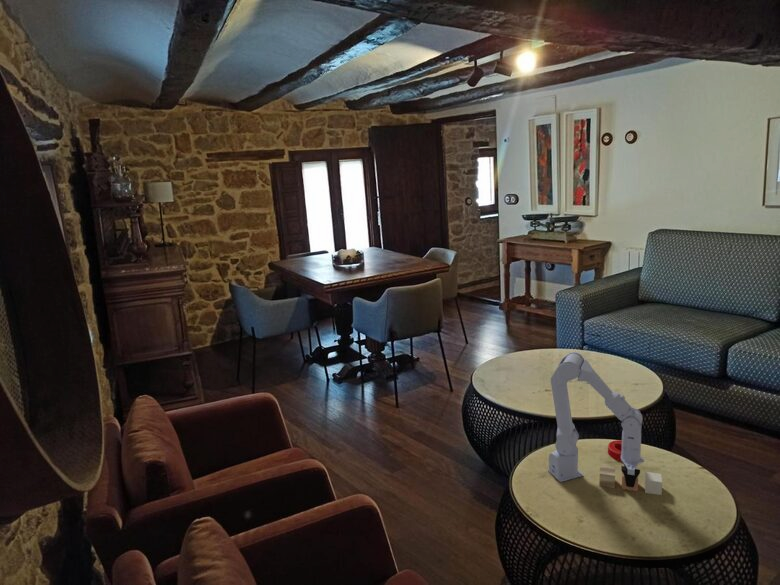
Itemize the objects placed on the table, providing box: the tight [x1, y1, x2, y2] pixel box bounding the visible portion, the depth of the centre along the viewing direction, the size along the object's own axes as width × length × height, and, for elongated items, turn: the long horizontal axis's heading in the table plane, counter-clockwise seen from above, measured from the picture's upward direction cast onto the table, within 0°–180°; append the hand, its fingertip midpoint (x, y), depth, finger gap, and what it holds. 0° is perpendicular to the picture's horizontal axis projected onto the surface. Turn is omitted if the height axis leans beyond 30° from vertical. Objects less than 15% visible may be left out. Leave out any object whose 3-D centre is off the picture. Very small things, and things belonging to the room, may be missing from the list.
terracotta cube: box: [621, 471, 639, 492], centre depth 180 cm, size 5×5×5 cm
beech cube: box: [598, 465, 616, 488], centre depth 183 cm, size 5×5×5 cm
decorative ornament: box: [607, 439, 623, 462], centre depth 199 cm, size 10×10×3 cm
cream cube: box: [644, 471, 663, 496], centre depth 177 cm, size 5×5×5 cm
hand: (629, 481), depth 180 cm, fingers closed on terracotta cube, 5 cm apart
